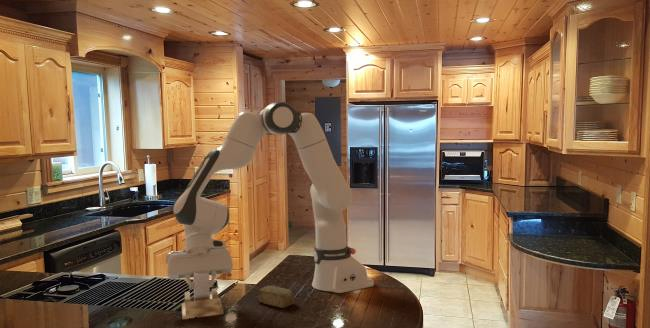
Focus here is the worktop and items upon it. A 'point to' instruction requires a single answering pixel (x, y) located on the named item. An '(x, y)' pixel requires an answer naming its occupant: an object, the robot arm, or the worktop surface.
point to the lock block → (201, 285)
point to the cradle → (201, 306)
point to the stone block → (276, 296)
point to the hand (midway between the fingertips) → (201, 287)
